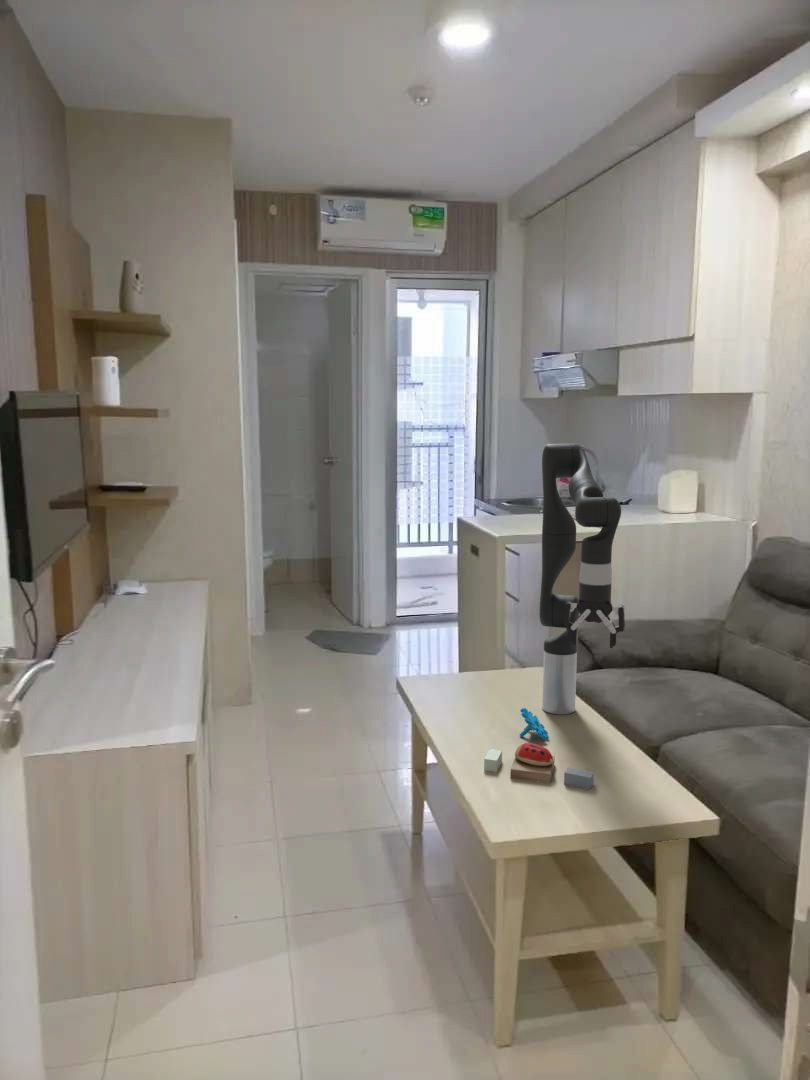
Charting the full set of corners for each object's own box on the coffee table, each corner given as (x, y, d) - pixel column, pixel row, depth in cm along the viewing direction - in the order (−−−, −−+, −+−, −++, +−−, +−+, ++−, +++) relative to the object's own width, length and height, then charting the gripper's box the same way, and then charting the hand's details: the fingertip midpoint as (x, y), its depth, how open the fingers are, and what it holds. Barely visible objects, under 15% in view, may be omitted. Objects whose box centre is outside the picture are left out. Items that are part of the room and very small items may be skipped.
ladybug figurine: (523, 751, 194) (523, 737, 193) (559, 761, 187) (560, 747, 187) (508, 760, 188) (509, 745, 188) (545, 771, 182) (546, 756, 182)
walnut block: (516, 763, 194) (517, 751, 193) (554, 768, 191) (554, 756, 191) (510, 781, 184) (510, 769, 184) (549, 786, 182) (550, 773, 181)
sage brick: (489, 760, 194) (490, 749, 193) (502, 762, 193) (502, 750, 192) (484, 770, 188) (484, 758, 188) (496, 772, 187) (496, 760, 187)
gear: (549, 741, 201) (522, 710, 203) (532, 755, 202) (505, 725, 204) (552, 730, 212) (526, 701, 213) (536, 744, 213) (510, 715, 215)
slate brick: (563, 784, 181) (564, 772, 181) (567, 779, 184) (567, 767, 183) (590, 790, 178) (590, 777, 178) (593, 784, 181) (593, 772, 181)
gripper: (627, 579, 192) (624, 644, 194) (567, 575, 196) (565, 639, 199) (625, 585, 185) (622, 653, 187) (563, 581, 189) (561, 647, 192)
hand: (593, 645), depth 193 cm, fingers open, 8 cm apart
